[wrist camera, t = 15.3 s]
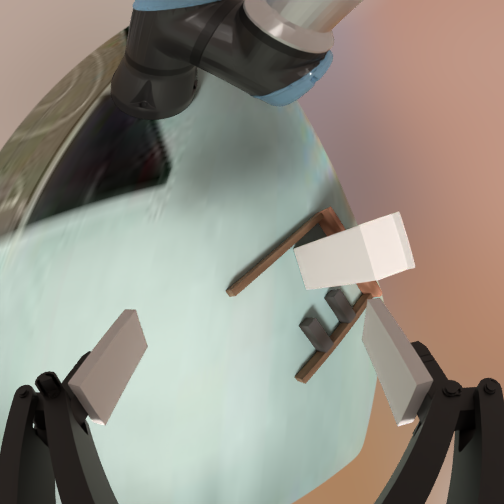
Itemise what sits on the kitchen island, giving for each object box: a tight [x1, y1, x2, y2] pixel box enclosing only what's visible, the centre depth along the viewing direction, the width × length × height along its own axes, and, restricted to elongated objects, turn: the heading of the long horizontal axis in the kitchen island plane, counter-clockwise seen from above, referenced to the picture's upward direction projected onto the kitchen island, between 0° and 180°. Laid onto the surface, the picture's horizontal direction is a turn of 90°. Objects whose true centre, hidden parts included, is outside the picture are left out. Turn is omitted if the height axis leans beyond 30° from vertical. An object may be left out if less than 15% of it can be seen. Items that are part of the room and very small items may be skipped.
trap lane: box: [226, 207, 382, 384], centre depth 43 cm, size 19×22×4 cm
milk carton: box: [294, 212, 415, 290], centre depth 38 cm, size 7×7×19 cm
